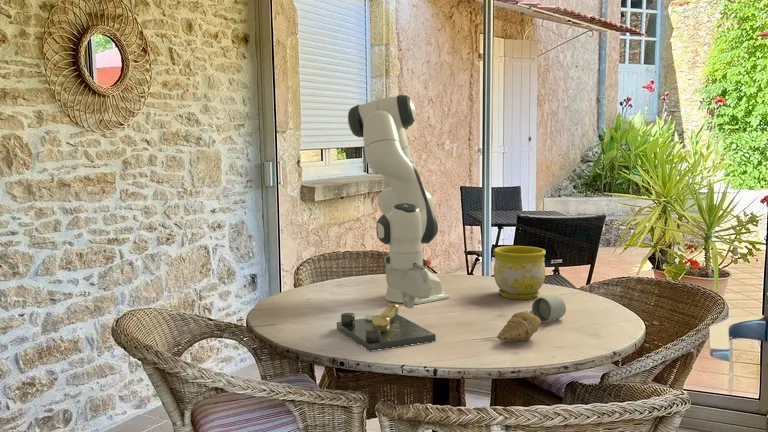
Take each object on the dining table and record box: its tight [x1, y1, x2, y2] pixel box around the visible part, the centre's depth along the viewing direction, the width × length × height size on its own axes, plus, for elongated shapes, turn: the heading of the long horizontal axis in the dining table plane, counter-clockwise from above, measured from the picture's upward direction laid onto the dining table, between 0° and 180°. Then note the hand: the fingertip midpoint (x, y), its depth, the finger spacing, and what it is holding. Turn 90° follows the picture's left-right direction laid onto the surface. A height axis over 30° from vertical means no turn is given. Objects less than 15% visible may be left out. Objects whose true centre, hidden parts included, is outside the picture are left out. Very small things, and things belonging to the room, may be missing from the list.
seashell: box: [496, 310, 542, 342], centre depth 187 cm, size 14×8×8 cm, turn 132°
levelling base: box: [336, 312, 437, 352], centre depth 195 cm, size 20×24×5 cm
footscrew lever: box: [372, 302, 400, 332], centre depth 199 cm, size 19×5×4 cm, turn 166°
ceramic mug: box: [529, 295, 567, 324], centre depth 210 cm, size 11×8×8 cm
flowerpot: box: [493, 245, 547, 300], centre depth 240 cm, size 18×18×16 cm
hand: (408, 307), depth 197 cm, fingers closed
